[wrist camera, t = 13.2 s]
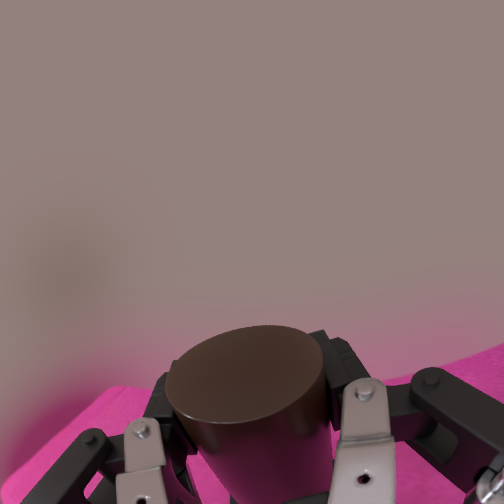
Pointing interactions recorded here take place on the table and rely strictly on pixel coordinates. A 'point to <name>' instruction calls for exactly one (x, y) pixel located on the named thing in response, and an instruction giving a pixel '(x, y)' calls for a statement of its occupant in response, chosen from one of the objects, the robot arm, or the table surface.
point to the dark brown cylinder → (257, 412)
